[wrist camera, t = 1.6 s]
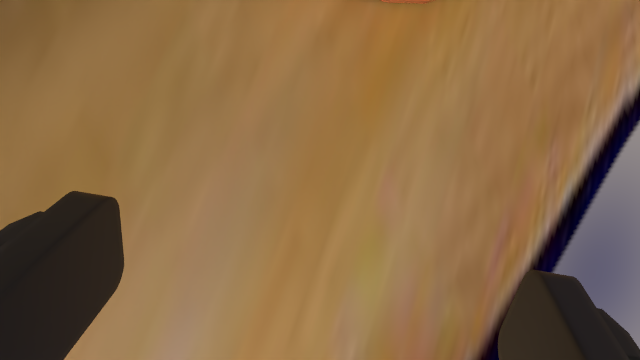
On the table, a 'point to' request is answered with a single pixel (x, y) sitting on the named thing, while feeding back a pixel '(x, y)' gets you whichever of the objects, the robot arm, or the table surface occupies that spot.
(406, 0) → the terracotta plant saucer
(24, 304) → the robot arm
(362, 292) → the table surface
